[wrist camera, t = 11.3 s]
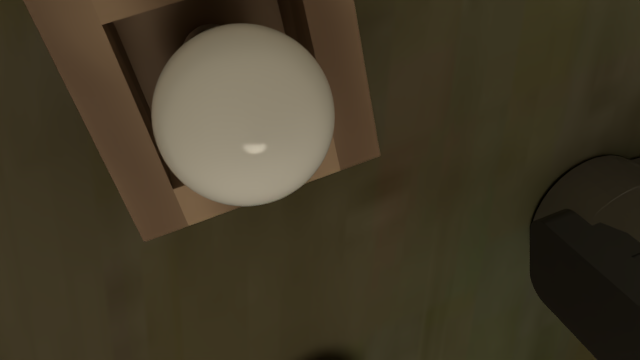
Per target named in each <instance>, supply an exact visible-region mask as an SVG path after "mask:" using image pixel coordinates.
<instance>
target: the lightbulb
mask: <svg viewBox="0 0 640 360" xmlns="http://www.w3.org/2000/svg"><path fill="white" fill-rule="evenodd" d="M151 120H152V128H153V133H154V137H155V141H156V144H157V147H158V149H159V151H160V154H161V156H162V157H163V159H164V161H165V163H166V164H167V166H168V167H169V169H170V170H171V171H172V172H173V174H174V175H175V176H176V177H177V178H178V179H179V180H180V181H181V182H182V183H183V184H184V185H186V186H187V187H188V188H190V189H191V190H192V191H194V192H195V193H197V194H199V195H201V196H203V197H205V198H207V199H209V200H212V201H214V202H218V203H221V204H226V205H231V206H258V205H263V204H267V203H271V202H274V201H277V200H279V199H282V198H284V197H286V196H288V195H290V194H291V193H293V192H295V191H296V190H297V189H299V188H300V187H301V186H303V185H304V184H305V183H306V182H307V181H308V180H309V179H310V178H311V177H312V176H313V175H314V174H315V172H316V171H317V170H318V168H319V167H320V165H321V164H322V162H323V160H324V159H325V157H326V154H327V152H328V150H329V147H330V144H331V141H332V137H333V132H334V125H335V108H334V101H333V95H332V92H331V88H330V85H329V82H328V80H327V78H326V76H325V73H324V72H323V70H322V68H321V67H320V65H319V64H318V62H317V61H316V59H315V58H314V57H313V56H312V55H311V53H310V52H309V51H308V50H307V49H306V48H304V47H303V46H302V45H301V44H300V43H298V42H297V41H296V40H294V39H293V38H291V37H290V36H288V35H286V34H284V33H282V32H280V31H278V30H275V29H273V28H270V27H266V26H262V25H257V24H250V23H233V24H226V25H217V24H206V25H202V26H200V27H197V28H196V29H194V30H193V31H192V32H191V33H190V34H189V35H188V36H187V37H186V39H185V41H184V43H183V45H182V46H181V47H180V48H179V49H178V50H177V51H176V52H175V53H174V54H173V55H172V56H171V58H170V59H169V60H168V62H167V63H166V65H165V66H164V68H163V70H162V71H161V73H160V76H159V78H158V80H157V83H156V86H155V89H154V93H153V98H152V107H151Z"/></svg>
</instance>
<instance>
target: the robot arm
mask: <svg viewBox="0 0 640 360" xmlns="http://www.w3.org/2000/svg"><path fill="white" fill-rule="evenodd" d="M530 277H531V281H532V284H533V287H534V289H535V291H536V293H537V294H538V296H539V297H540V299H541V300H542V301H543V302H544V304H545V305H546V306H547V307H548V308H549V309H550V310H551V311H552V312H553V313H554V314H555V315H556V316H557V317H558V318H559V319H560V321H561V322H562V323H563V324H564V325H565V326H566V327H567V328H568V329H569V330H570V331H571V332H572V333H573V334H574V335H575V336H576V337H577V339H578V340H579V341H580V342H581V343H582V344H583V345H584V346H585V347H586V348H587V349H588V350H589V351H590V352H591V353H592V354H593V355H594V357H595V358H596V359H597V360H640V157H639V158H637V159H633V160H629V159H626V158H623V157H620V156H611V155H608V156H602V157H597V158H594V159H591V160H589V161H586V162H584V163H582V164H581V165H579V166H577V167H575V168H574V169H572V170H571V171H570V172H568V173H567V174H566V175H564V176H563V177H562V178H561V179H560V180H559V181H558V182H557V183H556V184H555V185H554V186H553V187H552V188H551V189H550V191H549V192H548V193H547V195H546V196H545V197H544V199H543V200H542V202H541V204H540V206H539V208H538V210H537V211H536V214H535V217H534V220H533V222H532V223H531V226H530Z"/></svg>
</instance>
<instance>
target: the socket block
mask: <svg viewBox="0 0 640 360" xmlns="http://www.w3.org/2000/svg"><path fill="white" fill-rule="evenodd" d="M23 1H24V3H25V5H26V7H27V9H28V11H29V13H30V15H31V17H32V19H33V21H34V23H35V25H36V27H37V29H38V31H39V33H40V35H41V37H42V39H43V41H44V43H45V45H46V47H47V49H48V51H49V53H50V55H51V57H52V59H53V61H54V63H55V65H56V67H57V69H58V71H59V73H60V75H61V77H62V79H63V81H64V83H65V85H66V87H67V89H68V91H69V93H70V95H71V97H72V99H73V101H74V103H75V105H76V107H77V109H78V111H79V113H80V115H81V117H82V119H83V121H84V123H85V125H86V127H87V129H88V131H89V133H90V135H91V137H92V139H93V141H94V143H95V145H96V147H97V149H98V151H99V153H100V155H101V157H102V159H103V161H104V163H105V165H106V167H107V169H108V171H109V173H110V175H111V177H112V179H113V181H114V183H115V185H116V187H117V189H118V191H119V193H120V195H121V197H122V199H123V201H124V203H125V205H126V207H127V209H128V211H129V213H130V215H131V217H132V219H133V221H134V223H135V225H136V227H137V229H138V231H139V233H140V235H141V237H142V239H143V241H144V242H146V241H149V240H151V239H154V238H157V237H160V236H162V235H165V234H168V233H171V232H173V231H176V230H179V229H182V228H184V227H187V226H190V225H193V224H195V223H198V222H201V221H203V220H206V219H209V218H212V217H214V216H217V215H220V214H223V213H225V212H228V211H231V210H234V209H236V208H239V207H242V206H231V205H226V204H221V203H218V202H214V201H212V200H209V199H207V198H205V197H203V196H201V195H199V194H197V193H195V192H194V191H192V190H191V189H190V188H188V187H187V186H186V185H184V184H183V183H182V182H181V181H180V180H179V179H178V178H177V177H176V176H175V175H174V174H173V172H172V171H171V170H170V169H169V167H168V166H167V164H166V163H165V161H164V159H163V157H162V156H161V154H160V151H159V149H158V147H157V144H156V141H155V137H154V133H153V128H152V120H151V107H152V98H153V93H154V89H155V86H156V83H157V80H158V78H159V76H160V73H161V71H162V70H163V68H164V66H165V65H166V63H167V62H168V60H169V59H170V58H171V56H172V55H173V54H174V53H175V52H176V51H177V50H178V49H179V48H180V47H181V46H182V45H183V43H184V41H185V39H186V37H187V36H188V35H189V34H190V33H191V32H192V31H193V30H194V29H196V28H197V27H200V26H202V25H206V24H217V25H226V24H233V23H250V24H257V25H262V26H266V27H270V28H273V29H275V30H278V31H280V32H282V33H284V34H286V35H288V36H290V37H291V38H293V39H294V40H296V41H297V42H298V43H300V44H301V45H302V46H303V47H304V48H306V49H307V50H308V51H309V52H310V53H311V55H312V56H313V57H314V58H315V59H316V61H317V62H318V64H319V65H320V67H321V68H322V70H323V72H324V73H325V76H326V78H327V80H328V82H329V85H330V88H331V92H332V95H333V101H334V108H335V125H334V132H333V137H332V141H331V144H330V147H329V150H328V152H327V154H326V157H325V159H324V160H323V162H322V164H321V165H320V167H319V168H318V170H317V171H316V172H315V174H314V175H313V176H312V177H311V178H310V179H309V180H308V181H307V182H306V183H308V182H310V181H313V180H316V179H319V178H321V177H324V176H327V175H329V174H332V173H335V172H338V171H340V170H343V169H346V168H349V167H351V166H354V165H357V164H360V163H362V162H365V161H368V160H371V159H373V158H376V157H379V156H380V150H379V144H378V139H377V133H376V127H375V121H374V115H373V109H372V103H371V98H370V92H369V86H368V80H367V74H366V68H365V63H364V57H363V51H362V45H361V39H360V33H359V27H358V22H357V16H356V10H355V4H354V0H23Z"/></svg>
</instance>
